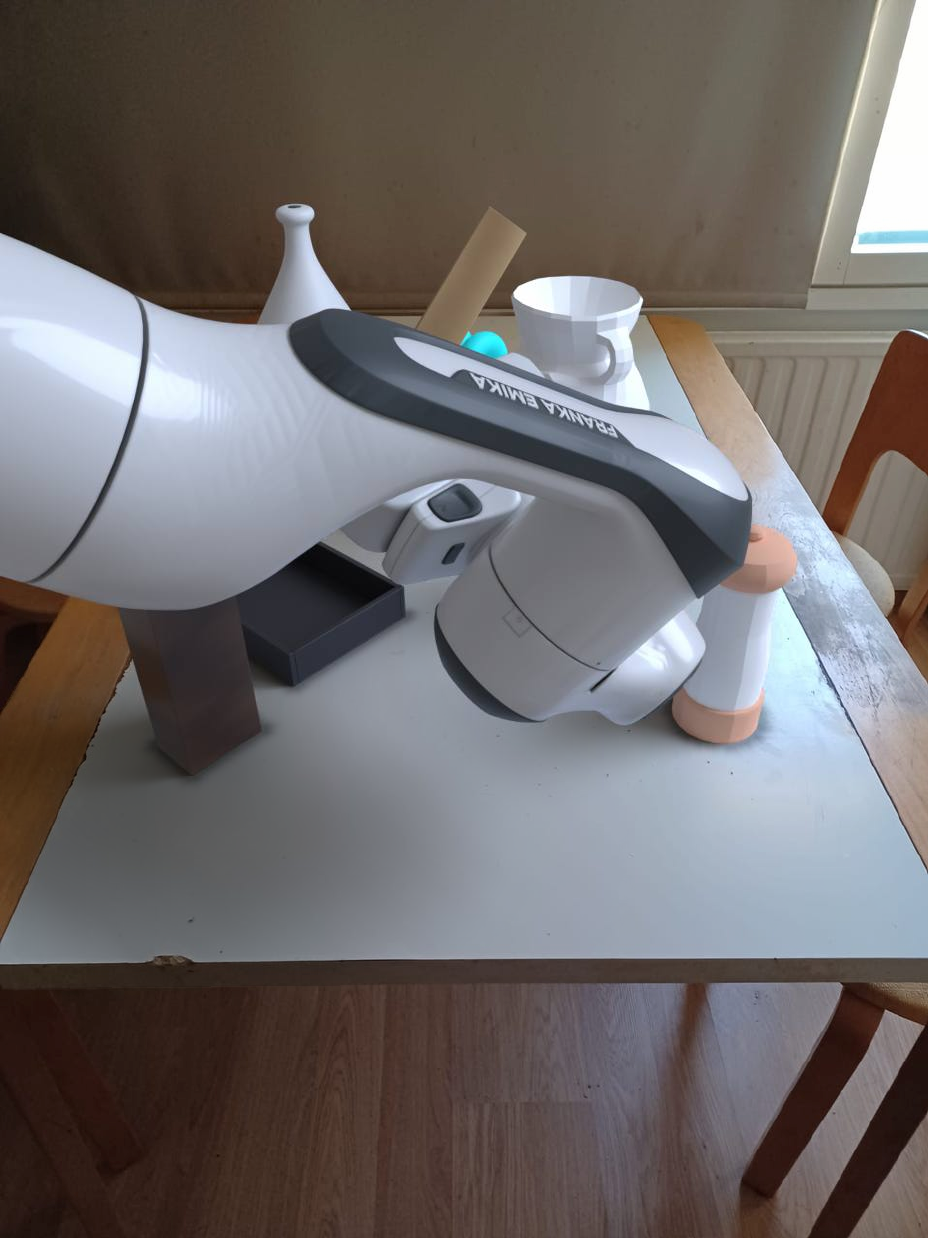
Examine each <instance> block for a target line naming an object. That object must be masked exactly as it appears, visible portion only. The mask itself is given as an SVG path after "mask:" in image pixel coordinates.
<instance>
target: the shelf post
mask: <svg viewBox="0 0 928 1238" xmlns="http://www.w3.org/2000/svg"><path fill="white" fill-rule="evenodd" d="M116 608H117V611H118V614H119V618H120V622H121V626H122V628H123V632H124V635H125V639H126V643H127V646H128V649H129V653H130V655H131V659H132V662H133V666H134V669H135V672H136V673H135V674H136V677H137V680H138V683H139V687H140V691H141V693H142V696H143V700H144V703H145V707H146V711H147V713H148V717H149V720H150V724H151V727H152V728H151V729H152V732H153V734H154V737H155V741H156V745H157V747H158V749H160V750H161V751H162V752H164V753H165V754H166V755H167V756H168V757H169V758H170V759H172V760H173V761H174V762H175V763H176V764H177V765H179V766H180V767H181V768H182V769H183V770H184V771H186V772H187V773H188V774H189V775H190V776H192V777H193V776H195V775H196V774H198V773H200V772H201V771H203V770H205V768H207V767H209V766H210V765H212V764H213V763H214V762H217V761H218V760H220V759H222V758H223V757H224V756H225V755H227V754H229V753H230V752H232V751H233V750H235V749H237V748H238V747H240V746H241V745H242V744H244V743H246V742H247V741H249V740H250V739H252V738H253V737H255V736H256V735H258V734H260V733H261V732H262V731H263V730H262V725H261V719H260V714H259V709H258V703H257V699H256V694H255V688H254V684H253V683H254V682H253V679H252V678H253V677H252V672H251V667H250V662H249V656H248V655H247V652H246V646H245V641H244V636H243V631H242V626H241V621H240V615H239V610H238V605H237V600H236V595H235V596H232V597H230V598H227V599H225V600H222V601H219V602H217V603H214V604H211V605H208V606H204V607H200V608H195V609H188V610H143V609H130V608H121V607H116Z"/></svg>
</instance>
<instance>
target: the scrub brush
mask: <svg viewBox="0 0 928 1238" xmlns="http://www.w3.org/2000/svg"><path fill="white" fill-rule="evenodd" d="M526 236H527V231H524V230H523V229H521V228H520V227H519V226H518V225H516V224H515V223H513V222H512V221H510V220H509V219H508V218H507V217H505V216H504V215H502V214H501V213H500V212H498V211H497V210H496V209H494V208H493V207H491V206H487V208H486V210H485V211H484V213H483V214H482V215H481V217H480V218H479V220H478V221H477V223H476V225H475V227H474V228H473V230H472V232H471V234H470V235H469V237H468V239H467V240H466V242H465V243H464V245H463V247H462V248H461V250H460V251H459V254H458V255H457V257H456V258H455V260H454V261H453V264H452V265H451V266H450V269H449V270H448V272H447V274H446V275H445V277H444V279H443V280H442V282H441V284H440V286H439V287H438V288H437V290H436V292H435V294H434V295H433V297H432V299H431V301H430V302H429V304H428V306H427V307H426V309H425V310H424V312H423V314H422V316H421V317H420V318H419V321H418V322H417V324H416V326H415V327H414V329H417V330H420V331H422V332H425V333H428V334H431V335H433V336H436V337H439V338H442V339H444V340H447V341H450V342H452V343H455V344H458V345H461V343H462V342H463V340H464V338H465V336H466V335H467V333H468V331H469V332H470V330H471V328H472V327H473V325H474V324H475V321H476V319H477V318H478V316H479V314H480V313H481V311H482V309H483V308H484V307H485V305H486V303H487V301H488V300H489V298H490V296H491V294H492V293H493V291H494V289H495V288H496V286H497V284H498V283H499V281H500V280H501V278H502V276H503V275H504V273H505V271H506V270H507V267H508V266H509V264H510V263H511V261H512V259H513V257H514V256H515V254H516V253H517V251H518V249H519V247H520V246H521V244H522V242H523V241H524V239H525V238H526Z"/></svg>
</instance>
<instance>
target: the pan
mask: <svg viewBox="0 0 928 1238" xmlns="http://www.w3.org/2000/svg"><path fill="white" fill-rule="evenodd" d="M405 596H406V595H405V585H399V584H396V583H395V582H393V581H392V580H391V579H390V578H389V577H388V576H387V575H384V574H381V573H380V572H378V571H376V570H375V569H373V568H371V567H369V566H367V565H366V564H363V563H362V562H360V561H358V560H356V559H354V558H352V557H350V556H349V555H347V554H346V553H344V552H341V551H339V550H338V549H336V548H334V547H332V546H330V545H329V544H327V543H325V542H323V541H322V540H321V541H319V542H318V543H317V544H315V545H314V546H312V547H311V548H310V549H308V550H307V551H305V552H304V553H302V554H301V555H300V556H298V557H297V558H295V559H294V560H293V561H291V562H290V563H289V564H287V565H286V566H284V567H283V568H282V569H280V570H279V571H278V572H276V573H275V574H273V575H272V576H270V577H269V578H267V579H266V580H264V581H262V582H260V583H259V584H257V585H255V586H253V587H252V588H250V589H248V590H246V591H244V592H242V593H239V594H237V595H236V600H237V605H238V610H239V615H240V621H241V626H242V631H243V636H244V641H245V646H246V652H247V657H250V658H251V659H253V660H254V661H256V662H257V663H258V664H260V665H262V666H263V667H264V668H266V669H267V670H268V671H270V672H271V673H273V674H274V675H276V676H277V677H278V678H280V679H282V680H283V681H284V682H286V683H287V684H289V685H290V686H291V687H294V688H295V687H296V686H298V685H300V684H301V683H303V682H305V681H306V680H307V679H310V677H312V676H314V675H315V674H317V673H318V672H320V671H322V670H323V669H325V668H326V667H328V666H329V665H331V664H333V663H334V662H336V661H338V660H339V659H341V658H343V657H344V656H346V655H347V654H349V653H351V652H352V651H354V650H355V649H357V648H358V647H360V646H361V645H363V644H365V643H366V642H368V641H369V640H371V639H372V638H375V636H377V635H379V634H381V633H382V632H384V631H385V630H387V629H388V628H390V627H392V626H393V625H395V624H396V623H399V622H400V621H402V620H403V619H404V618H406V615H407V614H406V597H405Z"/></svg>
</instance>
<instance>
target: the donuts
mask: <svg viewBox="0 0 928 1238" xmlns="http://www.w3.org/2000/svg"><path fill="white" fill-rule="evenodd" d="M460 346H463V347H466V348H468V349H471V350H474V351H476V352H479V353H481V354H484V355H487V356H489V357H492V358H494V359H496V358H498V357H501V356H503V355H505V354H508V353H509V352H508V349H507V346H506V344H505V342H504V340H503V339H502V338H501V337H500V336H499V335H498V334H496V333H495V332H492V331H488V330H487V331H486V330H484V331H479V332H476V333H474V334H471V332H470V330H469V331H468V333H467V335H466V336H465V338H464V340H463V342H462V343H461V345H460Z"/></svg>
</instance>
